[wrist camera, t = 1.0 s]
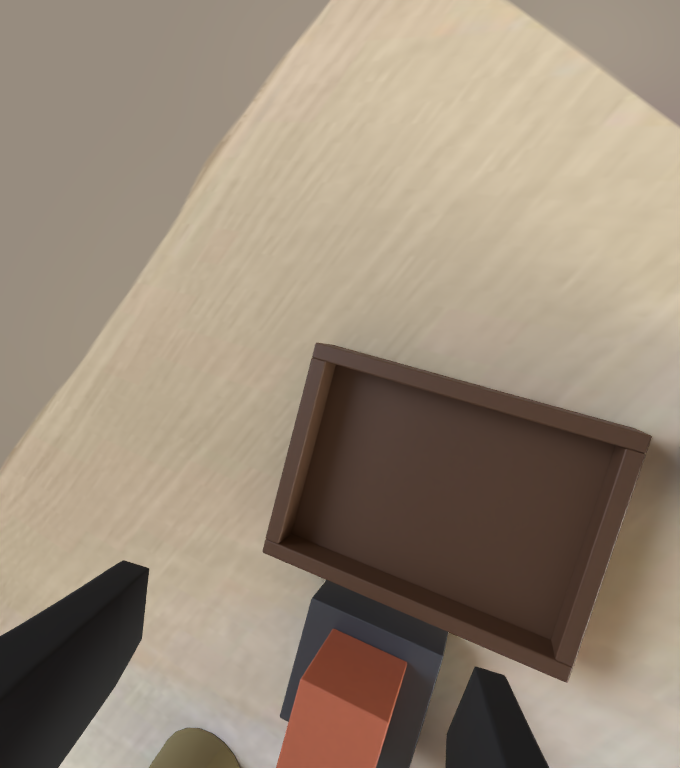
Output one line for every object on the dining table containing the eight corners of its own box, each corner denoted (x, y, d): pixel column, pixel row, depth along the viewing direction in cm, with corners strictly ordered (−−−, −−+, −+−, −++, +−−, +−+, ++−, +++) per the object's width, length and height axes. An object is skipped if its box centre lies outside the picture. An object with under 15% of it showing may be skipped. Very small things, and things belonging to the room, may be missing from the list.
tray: (560, 652, 24) (567, 684, 22) (281, 536, 29) (261, 552, 26) (636, 428, 23) (652, 435, 21) (331, 344, 28) (315, 342, 25)
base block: (413, 745, 27) (404, 784, 24) (297, 687, 29) (278, 717, 26) (448, 629, 26) (443, 656, 23) (328, 577, 28) (311, 597, 26)
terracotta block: (381, 751, 25) (356, 829, 20) (309, 714, 26) (271, 781, 22) (407, 661, 24) (388, 723, 20) (333, 627, 25) (299, 678, 21)
